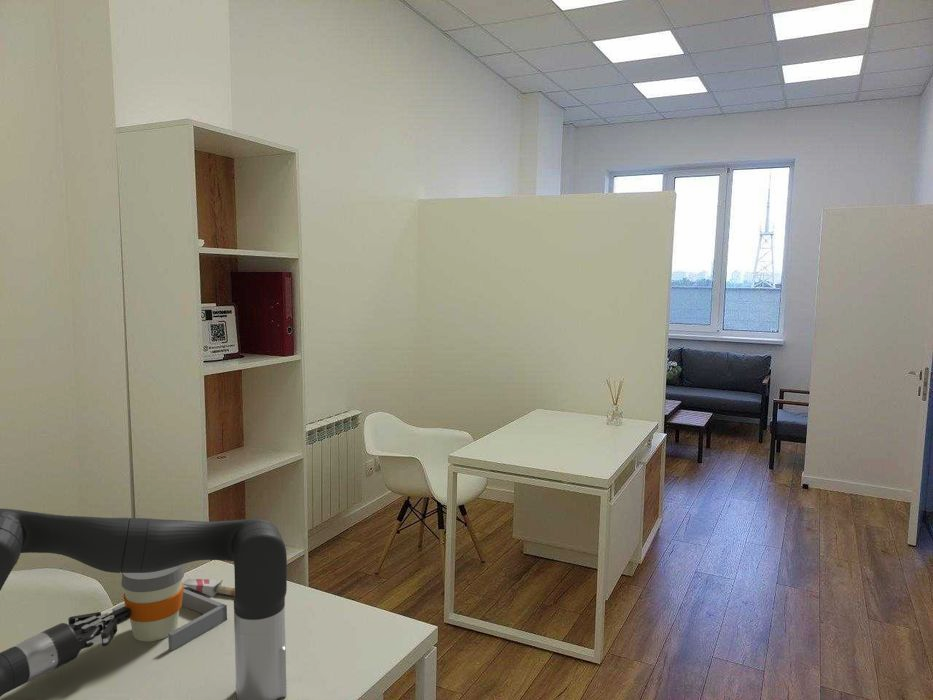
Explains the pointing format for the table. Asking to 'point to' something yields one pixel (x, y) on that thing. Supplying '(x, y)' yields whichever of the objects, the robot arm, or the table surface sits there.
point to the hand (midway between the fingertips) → (128, 611)
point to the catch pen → (200, 625)
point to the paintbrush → (209, 586)
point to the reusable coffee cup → (153, 602)
